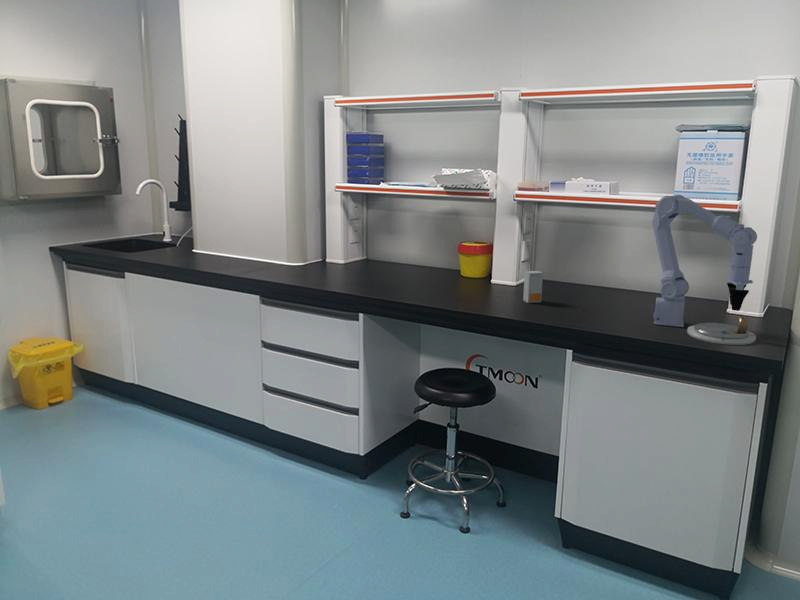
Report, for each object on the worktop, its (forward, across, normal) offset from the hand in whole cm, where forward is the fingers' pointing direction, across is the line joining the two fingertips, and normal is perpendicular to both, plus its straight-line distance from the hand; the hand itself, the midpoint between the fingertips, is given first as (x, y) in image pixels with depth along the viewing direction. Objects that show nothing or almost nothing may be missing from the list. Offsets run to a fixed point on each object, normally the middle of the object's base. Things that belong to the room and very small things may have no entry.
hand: (734, 307), depth 208 cm
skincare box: (+10, +21, +69) cm, 73 cm away
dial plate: (+9, -3, +3) cm, 10 cm away
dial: (+8, -3, +3) cm, 9 cm away
